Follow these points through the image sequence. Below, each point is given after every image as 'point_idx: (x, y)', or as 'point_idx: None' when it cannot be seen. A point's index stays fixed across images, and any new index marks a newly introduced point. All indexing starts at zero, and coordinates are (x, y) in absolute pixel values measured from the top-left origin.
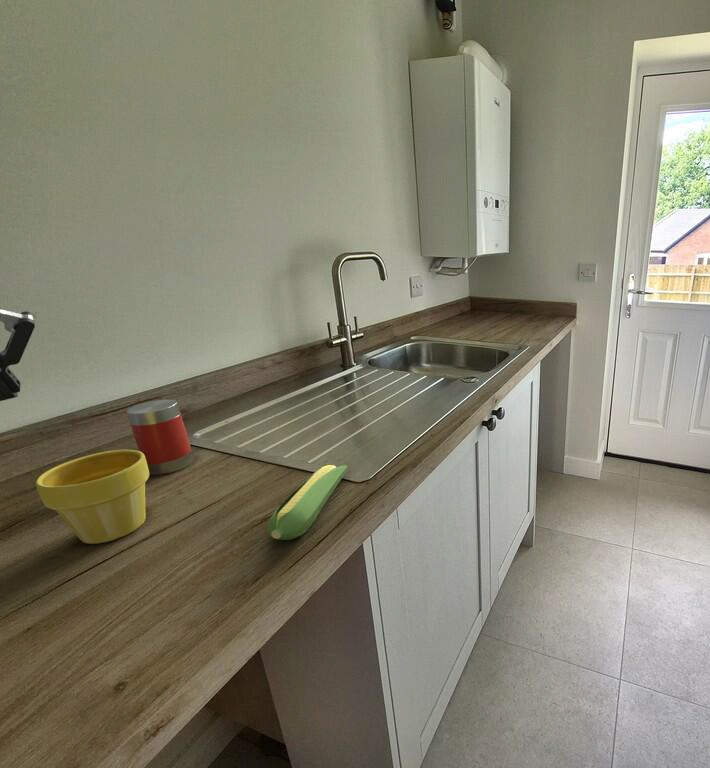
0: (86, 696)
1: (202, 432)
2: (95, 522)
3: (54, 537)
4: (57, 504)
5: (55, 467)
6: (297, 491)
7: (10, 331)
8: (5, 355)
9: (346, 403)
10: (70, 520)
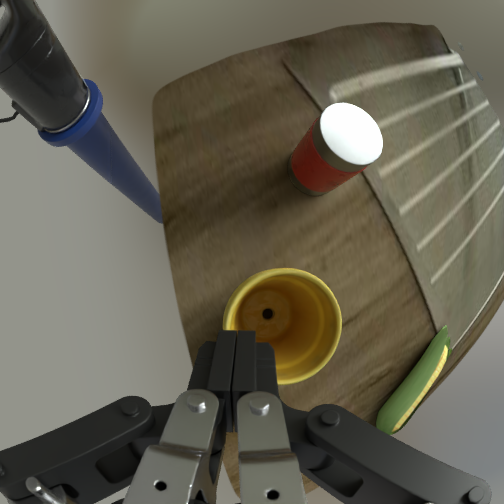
0: None
1: (338, 93)
2: None
3: (210, 289)
4: None
5: (239, 295)
6: (414, 383)
7: None
8: (313, 479)
9: (465, 144)
10: None
